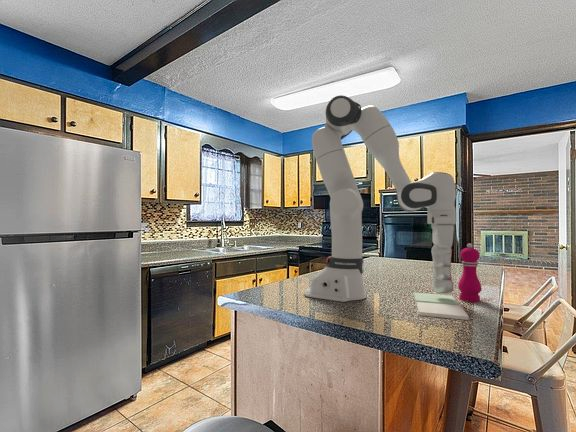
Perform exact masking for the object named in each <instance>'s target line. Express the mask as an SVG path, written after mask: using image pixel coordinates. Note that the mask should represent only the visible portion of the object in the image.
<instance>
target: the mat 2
mask: <svg viewBox="0 0 576 432" xmlns="http://www.w3.org/2000/svg"><path fill="white" fill-rule="evenodd" d="M415 305H416V309H417V313H418V316H423V317H432V318H433V317H434V318H445V319H452V320H455V319H456V320H463V321H465V320H466V321H469V320H470V317H469V315H468V313H467V312H466V311H465V309H463V307H462V306H461V305H460V304H459V305H448V304H436V303H425V302H415Z"/></svg>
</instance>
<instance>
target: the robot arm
mask: <svg viewBox="0 0 576 432" xmlns="http://www.w3.org/2000/svg"><path fill="white" fill-rule="evenodd" d="M352 131H354V132H355V133H357V134H358V136H360V137H361V140H362V142H363V144H364V146H365V147H366V148H367V150H368V152H370V154H371V155H372V156H373V157H374V159H375V160H376V161H377V163H379V164H380V166H381V167H382V168H383V170H384V171H385V172H386V175H387V176H388V179H389V180H390V182H391V183H392V185H393V188H394V190H395V192H396V202H397V205H398V206H399V208H400V209H401V210H403V211H406V212H409V213H412V212H417V211H419V210H420V209H422V208H426V209H427V216H426V217H427V218H426V219H427V224H428V225H430V224H431V225H430V226H431V229H432V233H431V234H432V235H431V237H432V239H431V240H432V243H433V245H434V244H435V243H436V245H437V246H439V247H440V260H446V254H447V248H451V249H452V247H453V242H454V234H455V233H454V231H455V225H456V224H457V219H456V218H457V216H456V215H457V214H456V213H457V212H456V211H457V209H456V206H455V201H456V198H457V197H456V195H457V194H456V183H455V179H454V176H453V175H452V174H450V173H447V172H443V171H442V172H441V171H434V172H431V173H429V174H428V175H426V176H425V177H423V178H421V179H419V180H416V181H413V182H412V181H411V179H410V177H409V174H407V172H406V170H405V168H404V167H403V164H402V162H401V158H400V144H399V143H400V142H399V140H398V136H397V133H396V131H395V129H394V128H393V126H392V124H391V123H390V121H389V120H388V119H387V117H386V116H385V114H383V113H382V111H381V110H380V109H379V108H378V107H377V106H375V105H366V106H364V107H362V106H361V104H360V103H358V102H356V101H354V100H353V99H352V98H350V97H348V96H347V95H341V94H340V95H336V96H333V97H332V98H331V99H330V100H329V101H328V102H327V105H326V107H325V124H324V125H323V127H320V128H317V129H316V130H315V131H314V132H313V133H312V135H311V144H312V145H311V146H312V150H313V154H314V158H315V161H316V164H317V166H318V170H319V172H320V175H321V178H322V181H323V184H324V186H325V188H326V191H327V193H328V195H329V197H330V201H329V218H330V219H329V220H330V229H331V255H330V256H328V257H327V258H326V260H325V265H326V266H325V267H324V268H323V269H321V270H320V271H319V272H318V273H316V274H315V275H313V276H312V279H311V282H310V287H309V288H306V289H305V290H304V293H303V294H304V296H305V297H307V298H315V299H319V300H320V299H322V300H327V301H335V302H342V303H343V302H345V303H346V302H349V301H359V300H364V299H366V298H367V293H366V290H365V289H366V288H365V284H364V274H363V273H364V271H365V269H364V266H365V264H364V263H365V262H364V257H363V220H362V219H363V217H362V215H363V214H362V213H363V209H364V201H363V198H362V195H361V193H360V191H359V188H358V185H357V182H356V179H355V176H354V174H353V171H352V169H351V165H350V163H349V160H348V156H347V154H346V151H345V149H344V146H343V143H342V140H343V139H345V138H346V137H347V136H348V135H350V134H351V133H352ZM435 236H436V241H435Z"/></svg>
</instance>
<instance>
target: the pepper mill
mask: <svg viewBox="0 0 576 432" xmlns="http://www.w3.org/2000/svg"><path fill="white" fill-rule="evenodd" d="M480 256H481V255H480V252H479V250H477V249H476V248H473V244H472V243H467V244H466V247H465V248H463V249H461V250H460V253H459V257H460V259H461V265H462V268H463V270H462V275H461V276H460V279H459V281H458V283H457V284H458V285H457V288H458V290H459V291H460V293H459V299H460V300H461V301H465V302H470V303H478V302H480V301H481V296H480V295H479V294H480V293H481V292H482V290H483V289H482V283H481V281H480V280H479V277H478V275H477V267H478V266H479V262H478V260H479V259H480V258H481V257H480Z"/></svg>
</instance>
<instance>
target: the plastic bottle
mask: <svg viewBox="0 0 576 432" xmlns="http://www.w3.org/2000/svg"><path fill="white" fill-rule="evenodd" d="M435 241H436V236H435ZM430 251H431V257H432V265H433V275H432V278H433V279H432V283H431V284H432V289H433V291H434V292H435V293H437V294H441V295H447V294H451V293H452V292H453V291H454V282H453V279H452V277H453V276H452V272H451V271H452V267H451V266H452V264H451V263H452V254H453V251H452V247H451V248H447V254H446V260H440V247H439V246H437V245H436V243H435V244H434V243H433V246H432V247H431V250H430Z"/></svg>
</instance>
